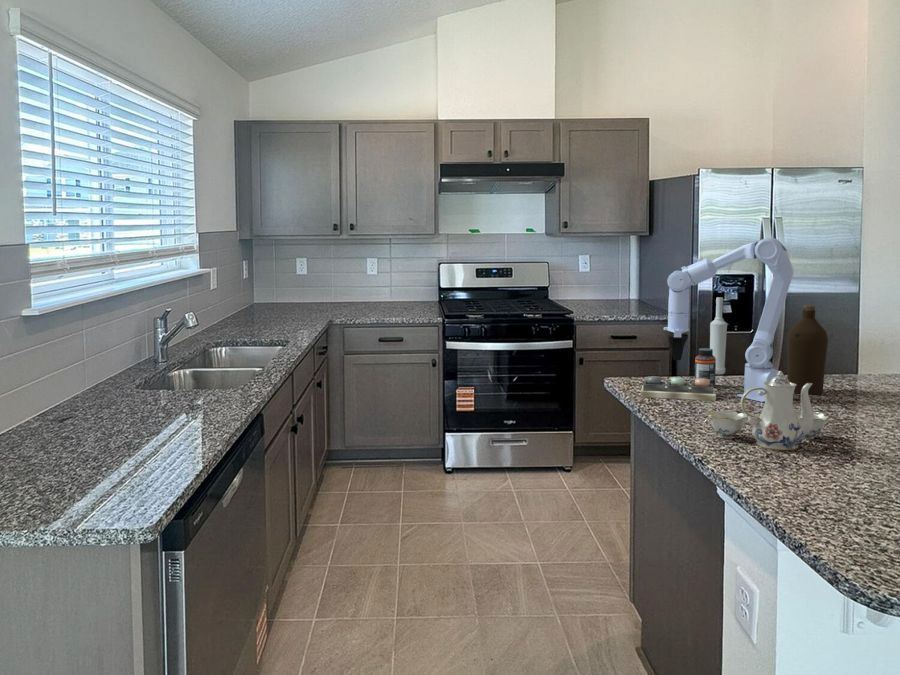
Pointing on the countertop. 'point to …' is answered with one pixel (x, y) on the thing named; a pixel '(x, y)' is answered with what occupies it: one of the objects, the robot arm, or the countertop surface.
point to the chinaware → (774, 417)
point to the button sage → (678, 381)
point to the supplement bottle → (705, 365)
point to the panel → (678, 391)
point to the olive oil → (807, 353)
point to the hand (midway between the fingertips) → (677, 359)
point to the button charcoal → (654, 380)
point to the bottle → (718, 337)
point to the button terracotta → (702, 382)
